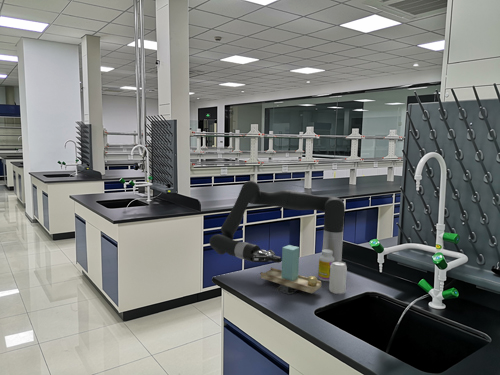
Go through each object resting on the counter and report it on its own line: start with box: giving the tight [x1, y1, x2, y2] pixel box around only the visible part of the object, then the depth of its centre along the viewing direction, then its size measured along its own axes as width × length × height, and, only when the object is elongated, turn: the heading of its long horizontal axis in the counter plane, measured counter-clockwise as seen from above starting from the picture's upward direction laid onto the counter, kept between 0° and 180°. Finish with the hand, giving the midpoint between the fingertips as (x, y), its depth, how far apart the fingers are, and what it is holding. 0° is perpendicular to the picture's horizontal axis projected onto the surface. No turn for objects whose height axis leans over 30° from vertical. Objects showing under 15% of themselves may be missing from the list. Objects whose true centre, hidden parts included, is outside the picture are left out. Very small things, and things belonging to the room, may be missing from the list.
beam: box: [260, 267, 322, 294], centre depth 149 cm, size 24×8×2 cm, turn 53°
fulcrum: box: [275, 284, 299, 296], centre depth 149 cm, size 7×11×2 cm, turn 143°
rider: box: [281, 244, 300, 281], centre depth 148 cm, size 5×5×13 cm
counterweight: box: [307, 275, 318, 287], centre depth 142 cm, size 4×4×3 cm
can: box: [328, 260, 348, 295], centre depth 146 cm, size 6×6×12 cm
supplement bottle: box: [317, 249, 335, 282], centre depth 159 cm, size 7×7×13 cm
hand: (280, 260), depth 150 cm, fingers closed
